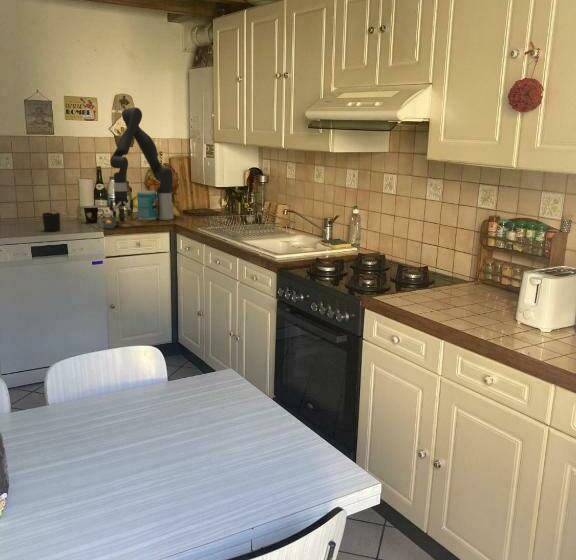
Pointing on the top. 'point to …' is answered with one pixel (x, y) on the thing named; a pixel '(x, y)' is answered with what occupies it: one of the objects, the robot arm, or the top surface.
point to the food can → (147, 205)
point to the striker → (122, 218)
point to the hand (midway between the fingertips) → (121, 216)
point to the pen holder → (51, 222)
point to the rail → (132, 224)
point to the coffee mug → (91, 214)
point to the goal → (105, 224)
